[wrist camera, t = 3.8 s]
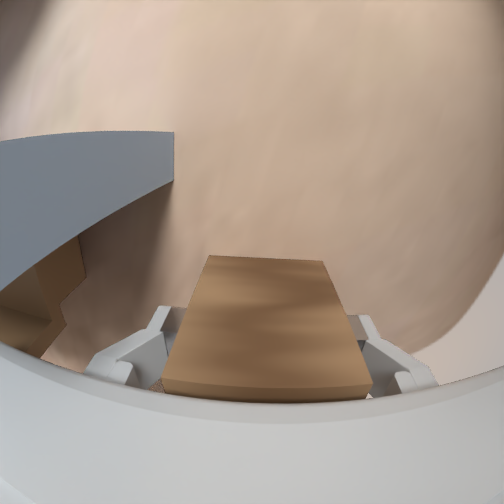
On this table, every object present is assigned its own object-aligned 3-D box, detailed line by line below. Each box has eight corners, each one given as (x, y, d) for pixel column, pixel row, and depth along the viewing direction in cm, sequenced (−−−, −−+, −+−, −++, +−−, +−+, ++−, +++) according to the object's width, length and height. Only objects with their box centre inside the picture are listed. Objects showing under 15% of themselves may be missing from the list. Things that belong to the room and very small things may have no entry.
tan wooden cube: (322, 261, 12) (373, 383, 6) (309, 330, 13) (333, 451, 7) (209, 255, 12) (160, 377, 6) (212, 325, 14) (183, 447, 7)
